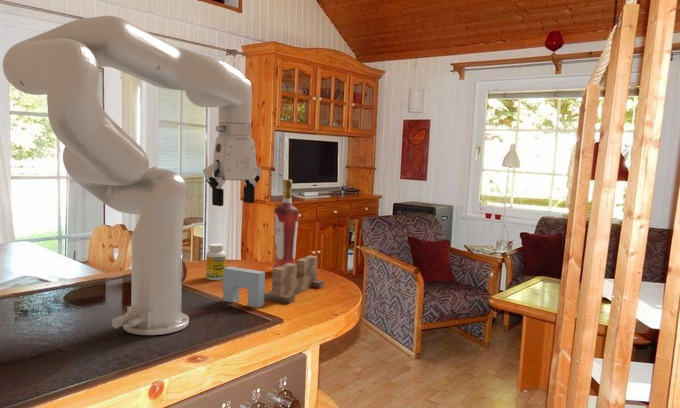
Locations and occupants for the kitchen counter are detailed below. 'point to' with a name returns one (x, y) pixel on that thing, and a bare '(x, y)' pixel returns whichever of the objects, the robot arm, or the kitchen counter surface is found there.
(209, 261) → the supplement bottle
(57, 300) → the kitchen counter surface
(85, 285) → the kitchen counter surface
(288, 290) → the walnut slotted rail
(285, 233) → the liquor
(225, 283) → the blue slotted plate
